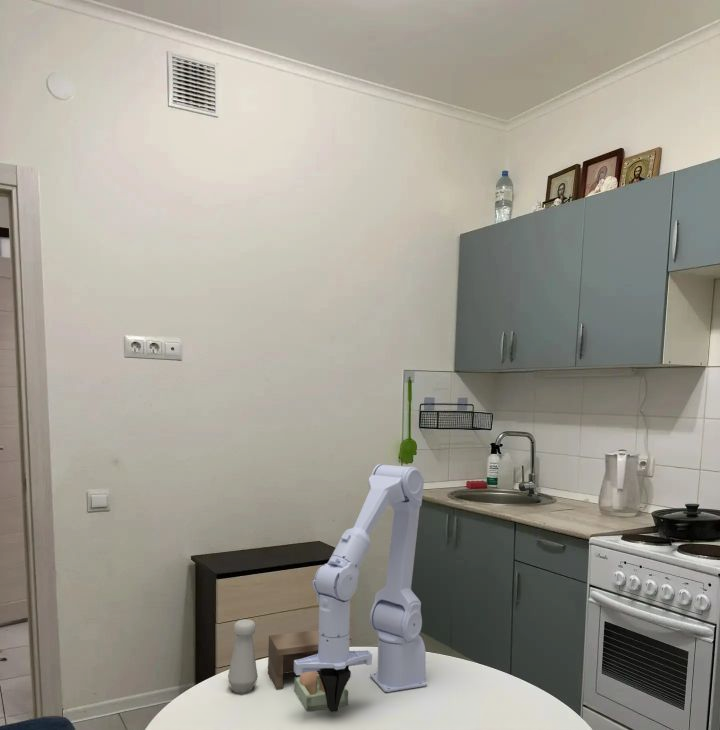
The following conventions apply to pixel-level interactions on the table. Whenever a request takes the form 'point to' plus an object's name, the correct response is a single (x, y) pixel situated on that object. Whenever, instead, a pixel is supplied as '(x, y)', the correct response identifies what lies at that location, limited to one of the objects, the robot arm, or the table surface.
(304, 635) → the shelf
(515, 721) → the table surface
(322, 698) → the tray
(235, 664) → the salt shaker
